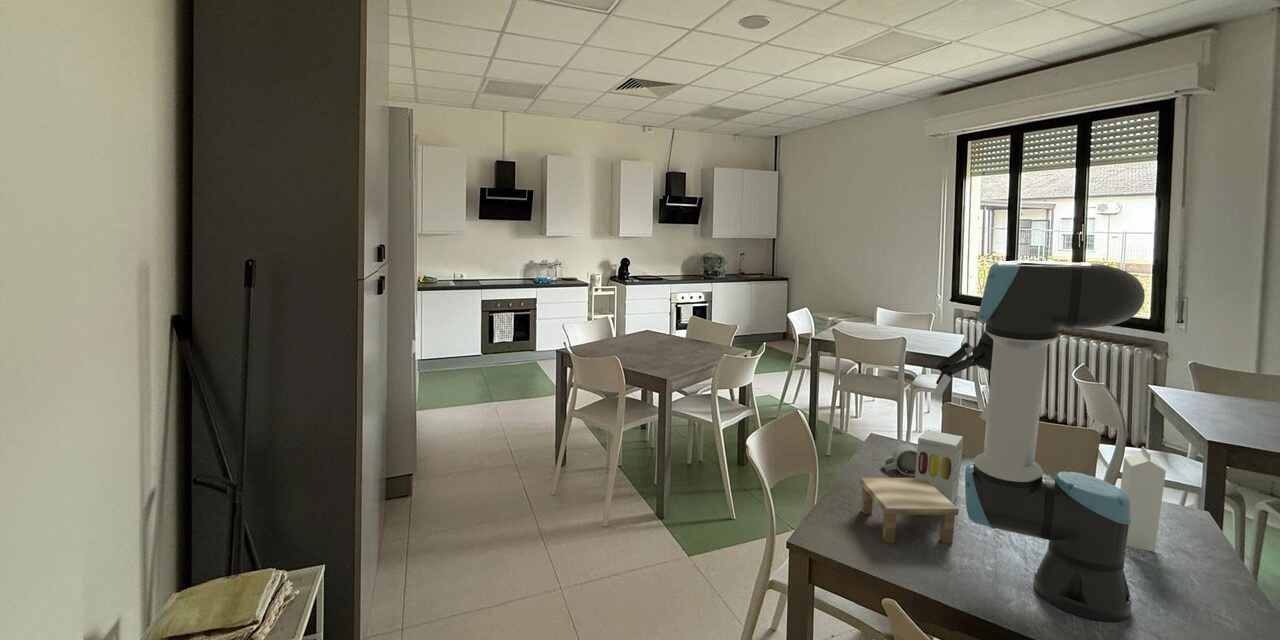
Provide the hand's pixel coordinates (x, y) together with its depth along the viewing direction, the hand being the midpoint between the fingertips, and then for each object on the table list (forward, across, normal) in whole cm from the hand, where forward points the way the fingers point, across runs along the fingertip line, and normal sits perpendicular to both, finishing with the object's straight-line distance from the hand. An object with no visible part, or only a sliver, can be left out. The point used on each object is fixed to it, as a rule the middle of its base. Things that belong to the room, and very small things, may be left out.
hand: (958, 408), depth 152 cm
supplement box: (+23, 0, -12) cm, 26 cm away
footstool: (+32, -7, +7) cm, 33 cm away
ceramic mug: (+22, +16, -20) cm, 34 cm away
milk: (+9, -36, -26) cm, 45 cm away
